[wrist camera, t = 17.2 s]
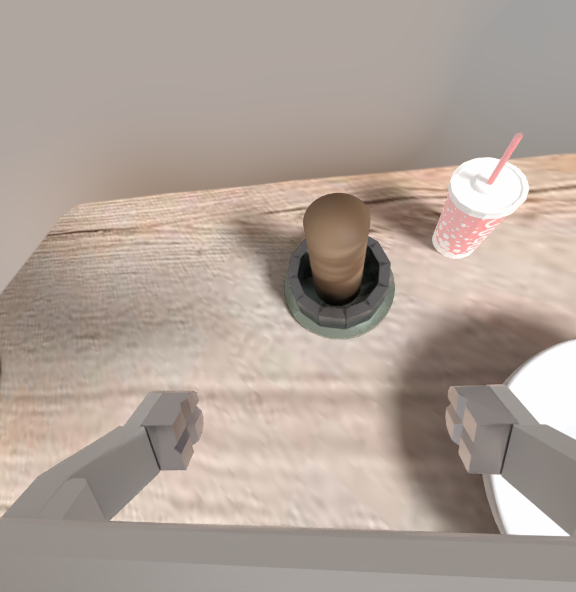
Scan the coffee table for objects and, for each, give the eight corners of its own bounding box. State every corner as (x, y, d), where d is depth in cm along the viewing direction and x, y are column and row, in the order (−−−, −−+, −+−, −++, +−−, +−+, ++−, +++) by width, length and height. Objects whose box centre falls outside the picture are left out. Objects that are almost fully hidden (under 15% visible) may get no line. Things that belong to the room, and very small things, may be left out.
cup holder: (308, 356, 33) (303, 347, 29) (271, 263, 37) (263, 246, 34) (414, 313, 33) (424, 299, 29) (364, 226, 37) (366, 204, 34)
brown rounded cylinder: (325, 313, 33) (317, 258, 22) (308, 274, 35) (293, 207, 24) (368, 295, 33) (382, 232, 22) (349, 258, 35) (353, 184, 24)
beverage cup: (434, 269, 34) (491, 176, 21) (418, 223, 36) (460, 115, 24) (493, 258, 33) (587, 156, 21) (472, 213, 36) (544, 96, 23)
